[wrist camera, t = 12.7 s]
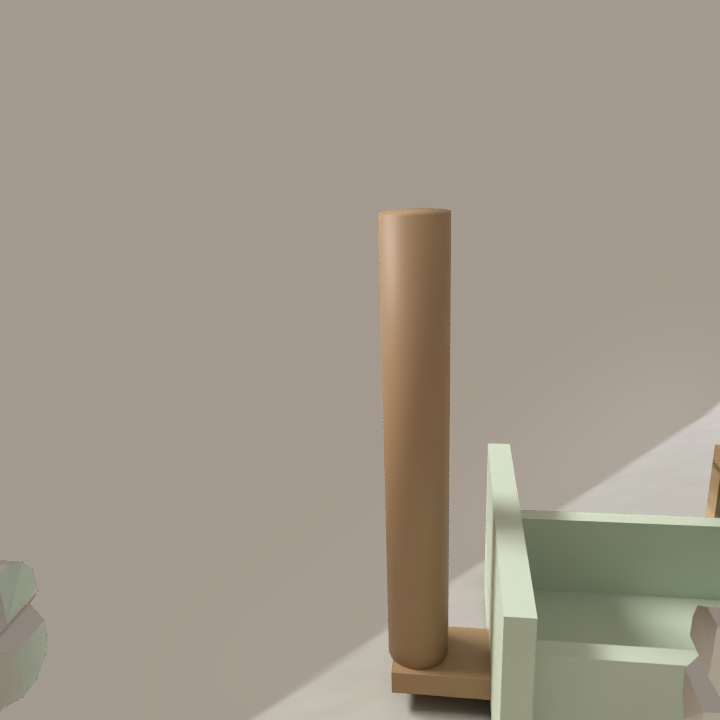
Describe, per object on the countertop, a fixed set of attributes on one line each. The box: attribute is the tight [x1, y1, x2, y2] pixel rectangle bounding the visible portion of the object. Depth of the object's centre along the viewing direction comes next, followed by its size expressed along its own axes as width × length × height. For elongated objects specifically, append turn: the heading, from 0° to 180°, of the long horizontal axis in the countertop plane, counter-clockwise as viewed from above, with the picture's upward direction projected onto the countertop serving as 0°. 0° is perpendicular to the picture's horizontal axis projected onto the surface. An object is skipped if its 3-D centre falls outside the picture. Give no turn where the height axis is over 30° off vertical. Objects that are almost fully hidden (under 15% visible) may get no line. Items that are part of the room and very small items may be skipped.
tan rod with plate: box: [378, 208, 720, 720], centre depth 20 cm, size 15×10×16 cm, turn 82°
